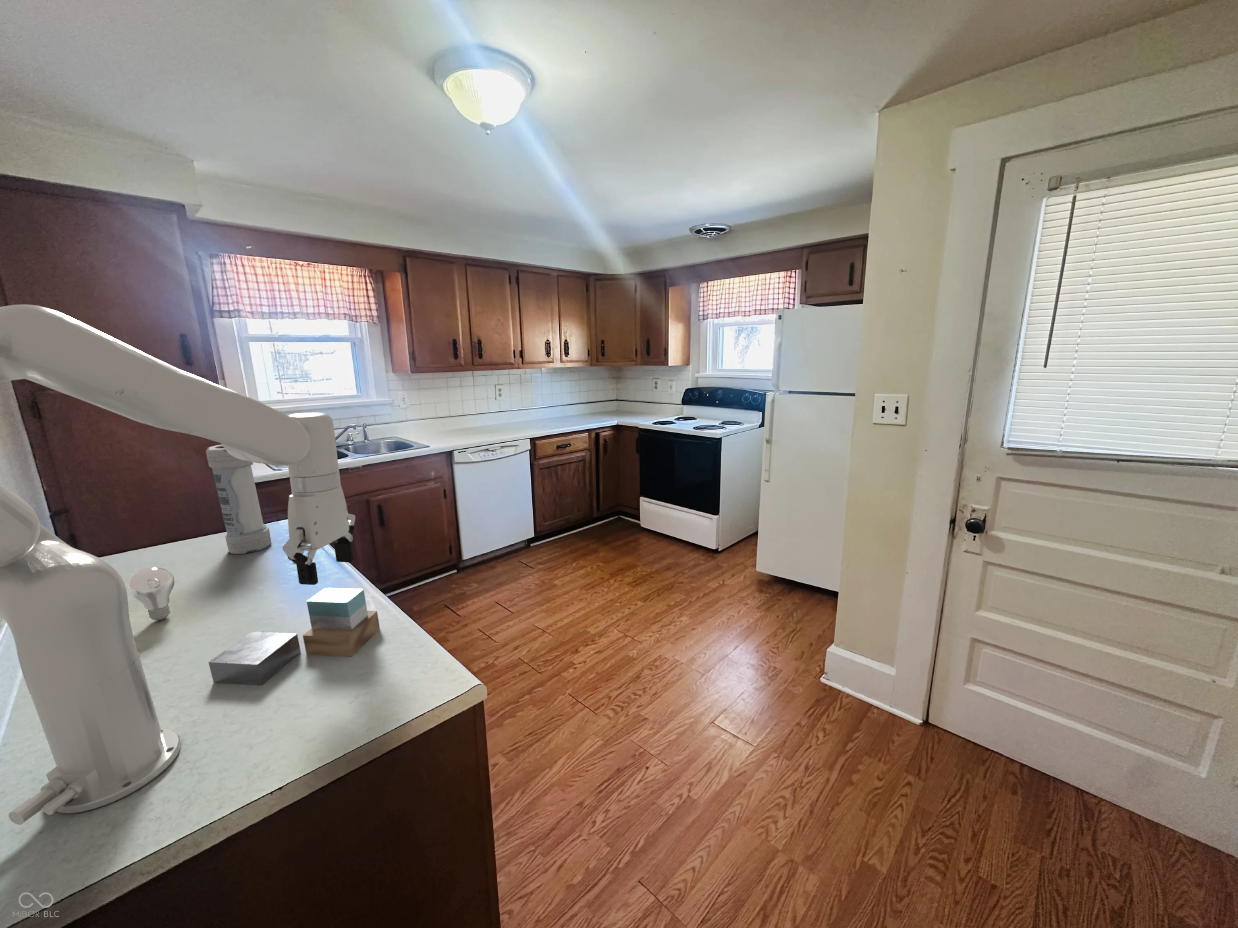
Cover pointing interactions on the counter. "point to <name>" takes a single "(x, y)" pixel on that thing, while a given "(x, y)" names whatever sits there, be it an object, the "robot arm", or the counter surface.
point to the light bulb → (153, 590)
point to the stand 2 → (341, 638)
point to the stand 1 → (255, 658)
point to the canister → (238, 502)
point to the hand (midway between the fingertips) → (327, 572)
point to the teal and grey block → (337, 609)
